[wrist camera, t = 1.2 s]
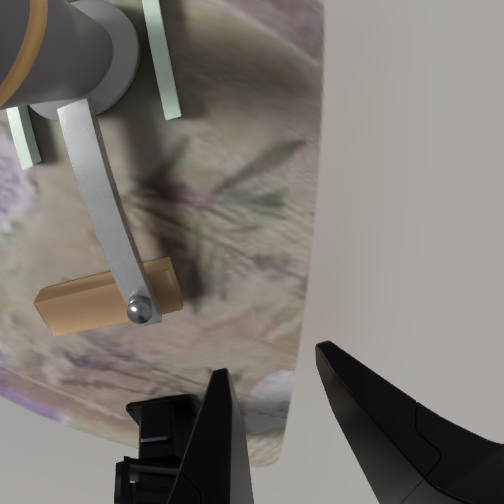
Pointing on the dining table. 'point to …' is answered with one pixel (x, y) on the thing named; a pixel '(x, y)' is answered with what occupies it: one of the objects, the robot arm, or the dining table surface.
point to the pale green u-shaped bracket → (163, 73)
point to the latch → (107, 210)
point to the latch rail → (102, 299)
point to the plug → (65, 54)
